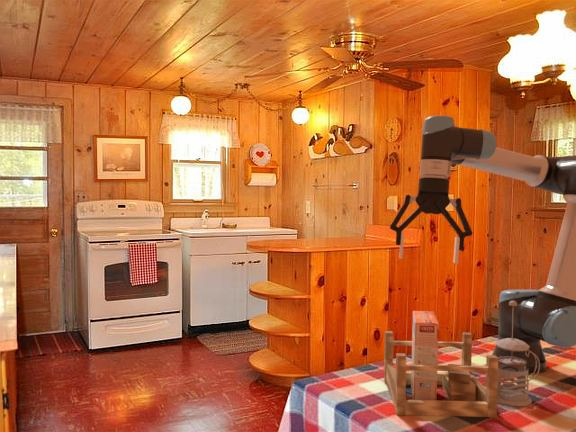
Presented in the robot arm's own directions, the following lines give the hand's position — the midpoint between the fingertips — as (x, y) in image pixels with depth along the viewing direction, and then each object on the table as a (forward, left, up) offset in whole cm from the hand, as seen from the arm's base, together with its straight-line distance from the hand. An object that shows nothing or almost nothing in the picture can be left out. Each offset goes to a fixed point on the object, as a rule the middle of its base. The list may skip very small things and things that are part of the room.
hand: (427, 260), depth 133 cm
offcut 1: (-8, +1, -30) cm, 31 cm away
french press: (-22, +1, -35) cm, 41 cm away
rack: (-2, +2, -35) cm, 35 cm away
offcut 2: (-8, +1, -33) cm, 34 cm away
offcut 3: (-8, +1, -35) cm, 36 cm away
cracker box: (+1, +2, -35) cm, 35 cm away
